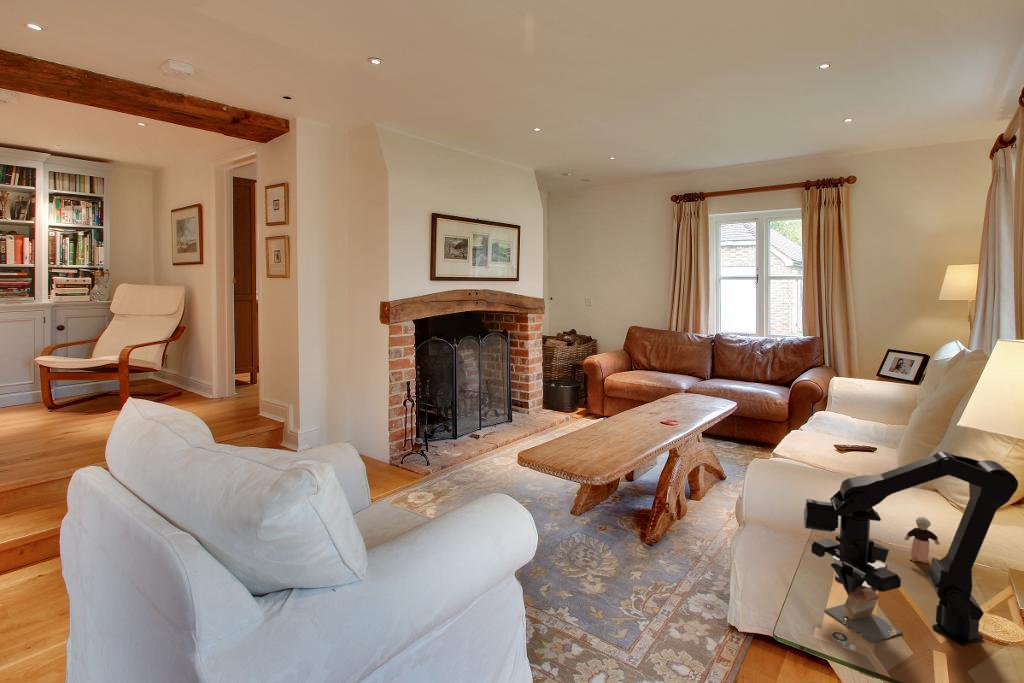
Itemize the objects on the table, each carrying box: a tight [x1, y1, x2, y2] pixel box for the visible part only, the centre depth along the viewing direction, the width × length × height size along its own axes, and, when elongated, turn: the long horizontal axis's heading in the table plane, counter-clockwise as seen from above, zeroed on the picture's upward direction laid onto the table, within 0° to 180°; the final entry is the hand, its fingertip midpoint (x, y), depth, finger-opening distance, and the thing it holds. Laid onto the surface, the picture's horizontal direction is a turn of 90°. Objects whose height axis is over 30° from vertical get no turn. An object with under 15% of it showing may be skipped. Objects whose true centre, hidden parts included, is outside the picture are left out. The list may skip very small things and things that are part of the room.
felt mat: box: [823, 603, 903, 644], centre depth 123 cm, size 12×9×1 cm
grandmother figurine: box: [903, 516, 941, 565], centre depth 147 cm, size 8×4×13 cm, turn 73°
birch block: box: [842, 587, 880, 621], centre depth 124 cm, size 3×6×6 cm, turn 109°
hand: (851, 597), depth 126 cm, fingers closed
